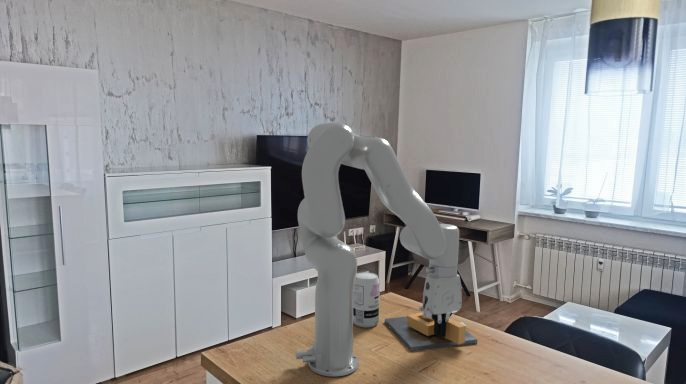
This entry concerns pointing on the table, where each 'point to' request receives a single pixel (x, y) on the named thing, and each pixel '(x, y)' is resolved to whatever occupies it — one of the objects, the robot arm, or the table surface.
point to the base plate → (422, 335)
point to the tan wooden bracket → (453, 328)
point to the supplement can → (366, 300)
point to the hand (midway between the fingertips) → (439, 335)
